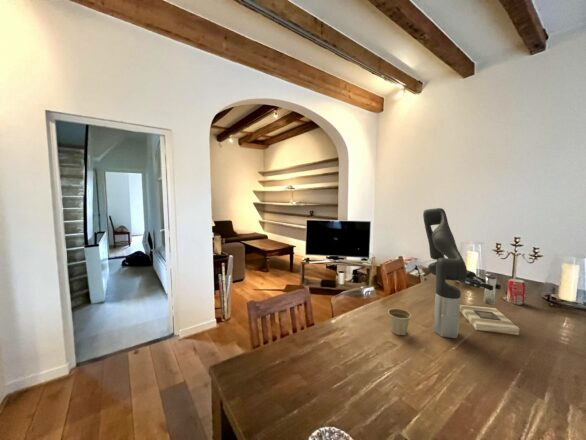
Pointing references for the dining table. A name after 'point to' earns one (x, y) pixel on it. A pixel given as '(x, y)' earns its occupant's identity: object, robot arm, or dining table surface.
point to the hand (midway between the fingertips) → (496, 287)
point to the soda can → (516, 291)
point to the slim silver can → (490, 294)
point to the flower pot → (399, 321)
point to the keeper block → (488, 319)
